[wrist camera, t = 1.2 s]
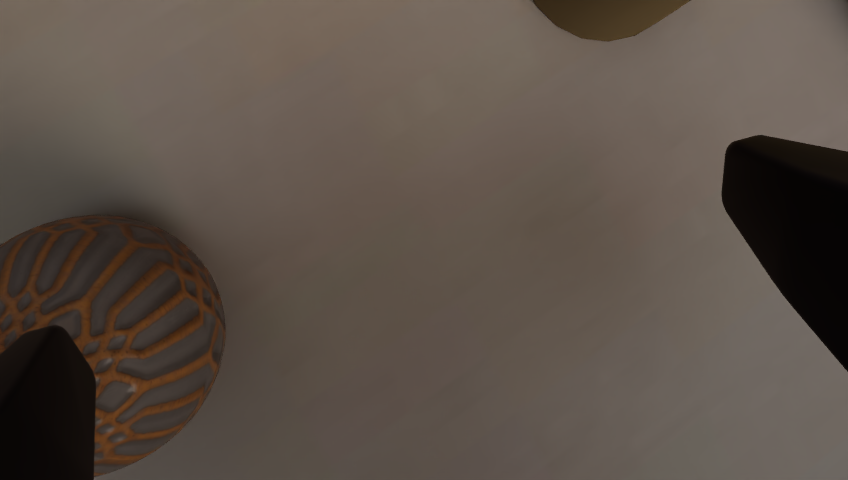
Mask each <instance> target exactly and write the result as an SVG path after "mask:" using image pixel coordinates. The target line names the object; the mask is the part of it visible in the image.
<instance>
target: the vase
mask: <svg viewBox="0 0 848 480" xmlns="http://www.w3.org/2000/svg"><path fill="white" fill-rule="evenodd" d="M51 325H58V326H62V327H63V328H64V329H65V330H66V331H67V332H68V333H69V335H70V336H71V338H72V339H73V341H74V342H75V344H76V345H77V347H78V348H79V350H80V351H81V353H82V354H83V356H84V357H85V359H86V361H87V362H88V364H89V365H90V367H91V368H92V370H93V373H94V376H95V380H96V414H95V454H94V476H99V475H103V474H106V473H110V472H113V471H116V470H118V469H121V468H123V467H126V466H128V465H130V464H132V463H135V462H137V461H139V460H140V459H142V458H144V457H146V456H147V455H149V454H151V453H152V452H154V451H156V450H157V449H158V448H160V447H161V446H163V445H164V444H165V443H167V442H168V441H169V440H170V439H172V438H173V437H174V436H175V435H176V434H177V433H178V432H180V431H181V429H182V428H183V427H184V426H185V425H186V424H187V423H188V422H189V421H190V420H191V419H192V418H193V416H194V415H195V414H196V413H197V411H198V410H199V408H200V407H201V405H202V404H203V402H204V400H205V399H206V397H207V395H208V393H209V392H210V390H211V387H212V385H213V383H214V381H215V378H216V376H217V373H218V370H219V367H220V364H221V360H222V356H223V351H224V345H225V317H224V311H223V306H222V302H221V298H220V295H219V292H218V289H217V287H216V285H215V282H214V280H213V279H212V277H211V275H210V273H209V272H208V270H207V269H206V267H205V266H204V264H203V263H202V262H201V261H200V259H199V258H198V257H197V256H196V255H195V254H194V253H193V252H192V251H191V250H190V249H189V248H188V247H187V246H186V245H184V244H183V243H182V242H181V241H179V240H178V239H176V238H175V237H173V236H172V235H170V234H169V233H167V232H165V231H163V230H161V229H159V228H157V227H155V226H152V225H150V224H147V223H144V222H141V221H137V220H133V219H129V218H124V217H118V216H110V215H88V216H79V217H71V218H66V219H61V220H57V221H54V222H50V223H46V224H43V225H40V226H37V227H35V228H32V229H30V230H28V231H26V232H23V233H21V234H19V235H17V236H15V237H13V238H11V239H9V240H8V241H6V242H5V243H3V244H2V245H0V354H1V353H2V352H3V351H4V350H5V349H7V348H8V347H9V346H10V345H11V344H12V343H13V342H14V341H15V340H17V339H18V338H19V337H20V336H21V335H22V334H24V333H26V332H28V331H32V330H36V329H39V328H43V327H47V326H51Z"/></svg>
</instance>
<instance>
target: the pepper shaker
mask: <svg viewBox="0 0 848 480" xmlns="http://www.w3.org/2000/svg"><path fill="white" fill-rule="evenodd" d="M689 1H691V0H534V2H535V4H536V6H537V7H538V8H539V9H540V10H541V11H542V12H543V13H544V14H545V15H546V16H547V17H548V18H549V19H550V20H551V21H552V22H553V23H554V24H555V25H556V26H558V27H560V28H562V29H564V30H566V31H568V32H570V33H572V34H574V35H576V36H578V37H580V38H584V39H592V40H601V41H613V40H617V39H622V38H626V37H631V36H635V35H637V34H638V33H640V32H642V31H643V30H645V29H647V28H648V27H650V26H652V25H653V24H655V23H657V22H659V21H660V20H662V19H663V18H665V17H666V16H668V15H669V14H671V13H672V12H674V11H675V10H677V9H678V8H680V7H681V6H683V5H684V4H686V3H687V2H689Z"/></svg>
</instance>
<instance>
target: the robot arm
mask: <svg viewBox="0 0 848 480" xmlns="http://www.w3.org/2000/svg"><path fill="white" fill-rule="evenodd" d="M722 202H723V205H724V208H725V210H726V212H727V214H728V215H729V217H730V218H731V220H732V221H733V223H734V224H735V226H736V227H737V228H738V230H739V231H740V233H741V234H742V236H743V237H744V239H745V240H746V242H747V243H748V245H749V246H750V248H751V249H752V251H753V252H754V254H755V255H756V257H757V258H758V260H759V261H760V263H761V264H762V266H763V267H764V269H765V270H766V272H767V273H768V275H769V276H770V278H771V279H772V281H773V282H774V283H775V285H776V286H777V287H778V289H779V290H780V292H781V293H782V294H783V296H784V297H785V298H786V299H787V301H788V302H789V303H790V304H791V306H792V307H793V308H794V309H795V310H796V311H797V313H798V314H799V315H800V316H801V317H802V319H803V320H804V321H805V322H806V323H807V324H808V326H809V327H810V328H811V329H812V330H813V331H814V333H815V334H816V335H817V336H818V337H819V339H820V340H821V341H822V342H823V343H824V344H825V346H826V347H827V348H828V349H829V350H830V351H831V353H832V354H833V355H834V356H835V357H836V359H837V360H838V361H839V362H840V363H841V364H842V366H843V367H844V368H845V369H846V370H847V371H848V152H846V151H841V150H836V149H831V148H826V147H821V146H815V145H810V144H805V143H800V142H795V141H790V140H785V139H779V138H774V137H769V136H764V135H757V136H752V137H749V138H745V139H741V140H738V141H734V142H732V143H731V144H730V145H729V146H728V148H727V150H726V154H725V163H724V173H723V184H722ZM95 414H96V380H95V376H94V373H93V370H92V368H91V367H90V365H89V364H88V362H87V361H86V359H85V357H84V356H83V354H82V353H81V351H80V350H79V348H78V347H77V345H76V344H75V342H74V341H73V339H72V338H71V336H70V335H69V333H68V332H67V331H66V330H65V329H64V328H63V327H62V326H58V325H51V326H47V327H43V328H39V329H36V330H32V331H28V332H26V333H24V334H22V335H21V336H20V337H19V338H18V339H17V340H15V341H14V342H13V343H12V344H11V345H10V346H9V347H8V348H7V349H5V350H4V351H3V352H2V353H1V354H0V480H94V454H95Z"/></svg>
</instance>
